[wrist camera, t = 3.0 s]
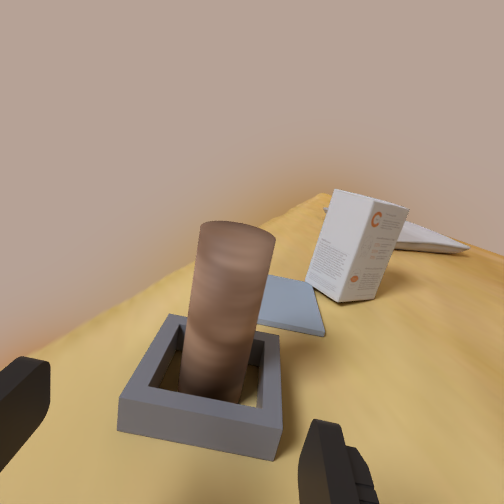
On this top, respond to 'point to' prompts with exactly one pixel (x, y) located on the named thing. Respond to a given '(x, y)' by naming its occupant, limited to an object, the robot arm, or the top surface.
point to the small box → (355, 246)
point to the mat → (290, 306)
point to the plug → (224, 308)
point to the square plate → (425, 240)
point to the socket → (204, 401)
